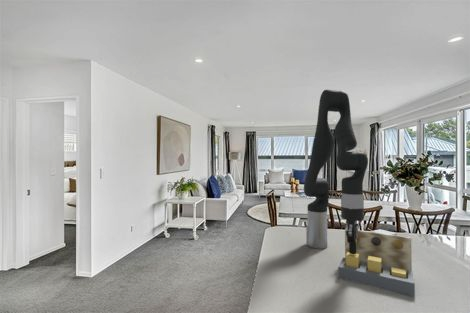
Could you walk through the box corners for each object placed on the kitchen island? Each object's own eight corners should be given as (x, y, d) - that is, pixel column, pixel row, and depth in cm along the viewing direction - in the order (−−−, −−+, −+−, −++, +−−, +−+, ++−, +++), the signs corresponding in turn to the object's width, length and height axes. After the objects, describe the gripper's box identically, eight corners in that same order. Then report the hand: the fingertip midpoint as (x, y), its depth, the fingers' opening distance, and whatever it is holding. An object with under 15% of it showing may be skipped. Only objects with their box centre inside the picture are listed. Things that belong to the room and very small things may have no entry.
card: (345, 263, 99) (344, 229, 100) (346, 260, 103) (346, 226, 103) (411, 277, 87) (411, 238, 88) (411, 273, 91) (410, 235, 91)
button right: (391, 286, 81) (391, 271, 81) (391, 281, 84) (391, 267, 85) (406, 290, 79) (406, 274, 79) (405, 284, 82) (405, 269, 82)
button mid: (367, 274, 85) (367, 259, 85) (368, 269, 88) (368, 255, 88) (381, 277, 83) (380, 262, 83) (381, 272, 86) (381, 258, 86)
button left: (345, 269, 89) (345, 255, 89) (347, 265, 92) (347, 251, 92) (358, 271, 87) (357, 257, 87) (359, 267, 90) (359, 254, 90)
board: (338, 278, 87) (338, 266, 87) (343, 267, 96) (343, 257, 96) (414, 296, 75) (414, 283, 75) (412, 282, 84) (412, 271, 84)
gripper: (344, 202, 97) (344, 246, 97) (337, 207, 86) (338, 257, 86) (365, 204, 93) (366, 249, 93) (361, 209, 82) (362, 261, 82)
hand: (352, 253), depth 89 cm, fingers closed
